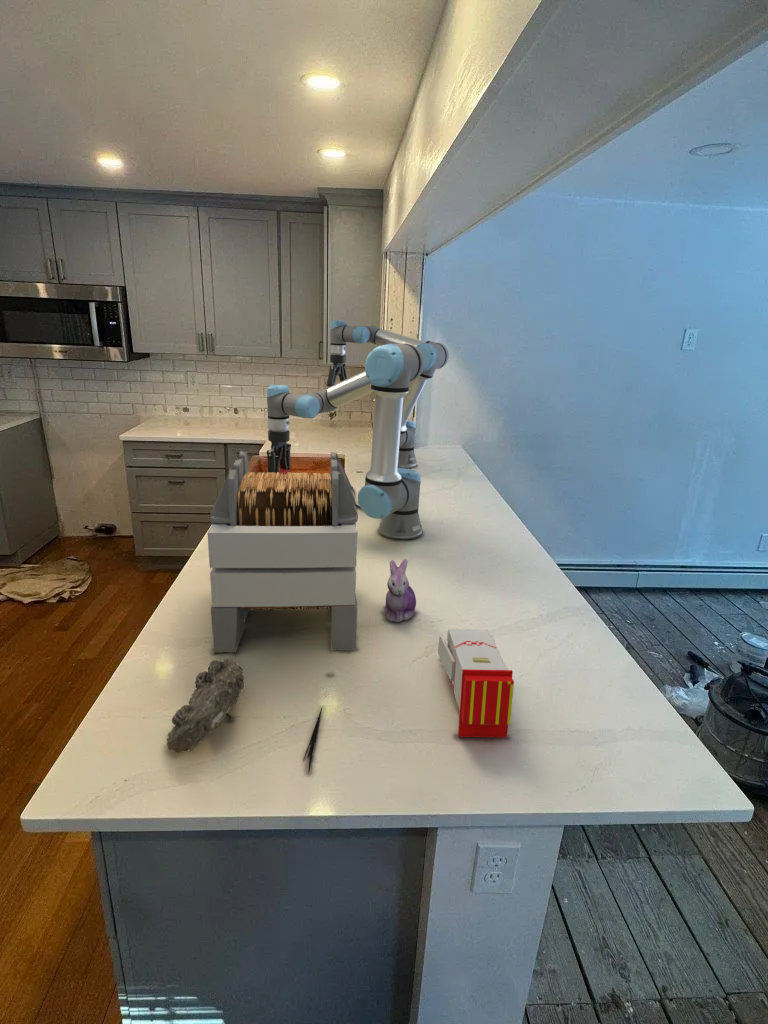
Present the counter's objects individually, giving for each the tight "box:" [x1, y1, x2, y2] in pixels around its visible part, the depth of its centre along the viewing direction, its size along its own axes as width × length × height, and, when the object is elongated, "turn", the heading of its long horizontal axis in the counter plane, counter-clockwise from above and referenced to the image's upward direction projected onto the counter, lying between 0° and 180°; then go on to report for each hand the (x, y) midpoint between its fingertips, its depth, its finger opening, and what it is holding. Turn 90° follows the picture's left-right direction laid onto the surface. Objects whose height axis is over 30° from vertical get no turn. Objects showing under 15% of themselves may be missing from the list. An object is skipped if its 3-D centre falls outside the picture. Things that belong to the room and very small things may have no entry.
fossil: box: [166, 658, 245, 754], centre depth 106 cm, size 22×10×15 cm
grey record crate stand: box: [206, 450, 359, 654], centre depth 137 cm, size 34×33×41 cm
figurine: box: [384, 558, 417, 623], centre depth 145 cm, size 9×10×15 cm
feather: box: [301, 673, 332, 771], centre depth 108 cm, size 2×28×2 cm
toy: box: [437, 628, 515, 738], centre depth 117 cm, size 12×13×30 cm
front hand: (279, 492), depth 209 cm, fingers closed on brick, 5 cm apart
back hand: (337, 398), depth 281 cm, fingers open, 13 cm apart
